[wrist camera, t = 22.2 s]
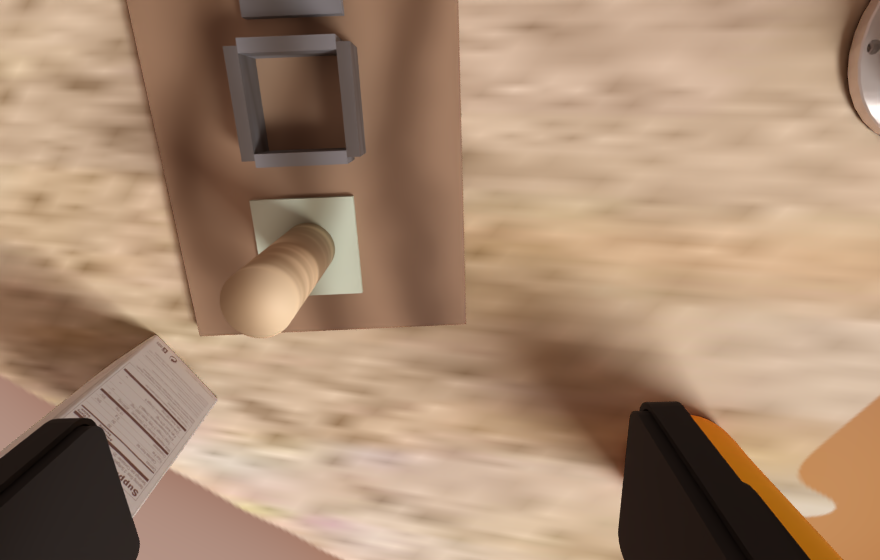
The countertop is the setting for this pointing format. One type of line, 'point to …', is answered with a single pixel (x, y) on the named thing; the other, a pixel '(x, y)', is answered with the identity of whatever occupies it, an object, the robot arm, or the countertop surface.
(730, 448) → the beer bottle
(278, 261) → the oak peg
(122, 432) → the supplement box
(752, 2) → the countertop surface
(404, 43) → the eye board
